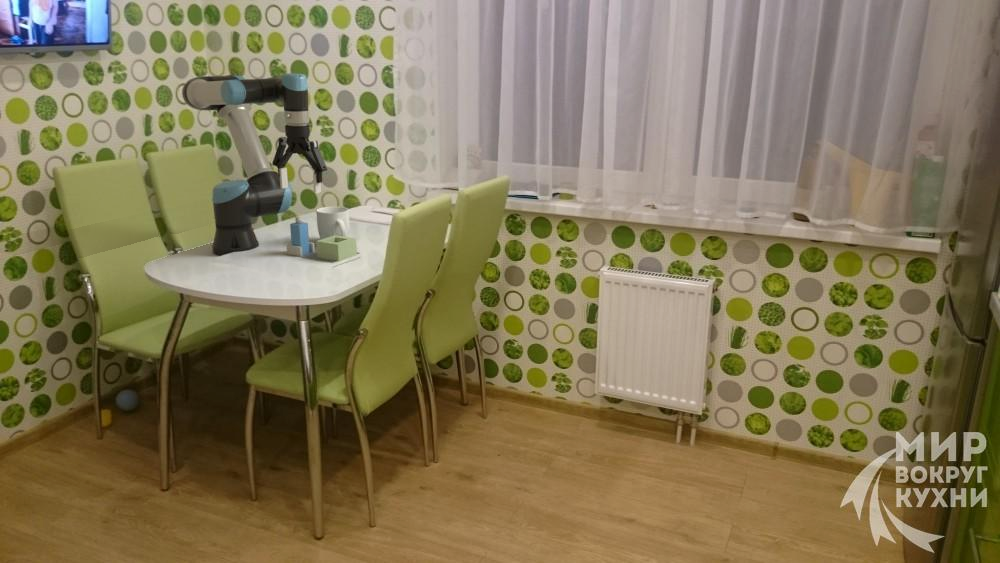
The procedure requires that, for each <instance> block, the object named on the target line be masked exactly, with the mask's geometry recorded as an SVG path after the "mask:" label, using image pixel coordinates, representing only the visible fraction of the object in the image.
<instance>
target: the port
mask: <svg viewBox="0 0 1000 563" xmlns="http://www.w3.org/2000/svg"><path fill="white" fill-rule="evenodd" d="M316 245H317V257H318V258H323V259H329V260H334V261H337V262H342V261H344V260H346V259H349V258H352V257H355V256H357V255H358V254H357V252H358V250H357V249H358V247H357V238H354V237H349V236H348V237H343V236H337V235H334V236H331V237H328V238H325V239H319V240H316Z"/></svg>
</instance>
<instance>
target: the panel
mask: <svg viewBox="0 0 1000 563" xmlns="http://www.w3.org/2000/svg"><path fill="white" fill-rule="evenodd" d="M309 248H310V252H309V253H306V254H302V247H299V246H294V245H292V244H286V254H285V255H286V256H292V257H298V258H303V259H307V260H313V261H319V262H324V263H328V264H329V263H330V264H334V263H338V261H334V260H329V259H323V258H318V257H317V244H315V242H310V241H309ZM360 254H361V252H358V251H357V255H360ZM360 258H361V256H359V257H357V258H354V259H351V260H348V261H345V262H343V263H339V264H336V265H334V266H333V268H335V267H338V266H341V265H343V264H347V263H348V262H351V261H354V260H358V259H360Z"/></svg>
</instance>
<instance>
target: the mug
mask: <svg viewBox="0 0 1000 563" xmlns="http://www.w3.org/2000/svg"><path fill="white" fill-rule="evenodd" d="M349 210H350V209H349V208H347V207H343V206H325V207H324V206H323V207H320V208H317V209H316V226H317V233H318V236H319V238H320V239H319V240H321V239H325V238H328V237H331V236H334V235H337V236H343V237H349V236H350V235H349V234H350V212H349Z"/></svg>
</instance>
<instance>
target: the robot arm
mask: <svg viewBox="0 0 1000 563" xmlns="http://www.w3.org/2000/svg"><path fill="white" fill-rule="evenodd" d="M308 89H309V86H308V80H307V76H306V74H304V73H298V72H297V73H295V72H294V73H291V72H290V73H284V74H282V77H279V76H278V77H277V76H275V77H274V76H270V77H267V78H250V79H249V78H248V79H246V78H245V77H243V76H241V75H233V74H228V75H208V76H201V75H200V76H195V77H192V78H190V79H189V80H187V81H186V82H185V83H184V84H183V87H182V91H181V94H182V98H183V101H184V102H185V103H186V105H188V106H189V107H190V108H192V109H193V110H194V109H195V110H197V111H198V110H199V111H216V112H217V114H218V116H219V118H220V119H221V120H225V122H226V125H227V127H228V131H229V133H230V135H231V139H232V141H233V143H234V146H235V149H236V151H237V154H238V155H239V159H240V160H241V164H242V166H243V169H244V172H245V174H246V176H247V178H246V179H235V180H234V179H232V180H227V181H224V182H223V181H222V182H220V183H218V184H216V185H215V186H214V187H213V188H212V199H211V200H212V204H213V213H214V215H213V216H214V223H215V234H214V238H213V244H212V245H211V246H212V253H213V254H215V255H217V256H225V255H229V254H232V253H240V252H246V251H250V250H254V249H256V248H258V247H259V245H260V243H259V240H258V238H257V236H256V234H255V231H254V228H253V224H252V219H253V218H260V217H265V216H272V215H279V214H282V213H285V212H287V211H288V210H289V209H290V207H291V205H292V202H293V201H292V200H293V193H292V192H293V190H292V185H291V184H290V182H289V179H288V168H287V166H286V165H287V164H288V162H289V160H290V159H291V157H292V156H293V154H298V155H302V156H303V157H304V158H305V160H307V162H308V164H309V166H311V168H312V169H313V171H314V172H313V173H312V178H313V180H312V181H313V193H314V194H319V193H322V182H323V172H326V171H327V170H328V167H327V164H326V163H325V160H324V157H323V155H322V152H321V150H320V148H319V142H318V140H311V141H310V136H311V132H310V131H311V130H310V129H311V128H310V125H309V123H310V113H309V112H310V111H309V91H308ZM269 103H270V104H271V103H273V104H274V103H281V104H282V103H283V112H284V113H283V114H284V115H283V116H284V123H285V125H284V132H285V136H284V137H280V138H278V145H277V148H276V151H275V154H274V156H273V161H272V166H275V167H277V168H276V169H277V171H276V170H274V169H272V166H271V164H270V161H269V159H268V157H267V154H266V152H265V149H264V147H263V143H262V141H261V139H260V137H259V134H258V132H257V129H256V127H255V124H254V122H253V119H252V116H251V115H250V112H251V110H252V105H253V104H269Z"/></svg>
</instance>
